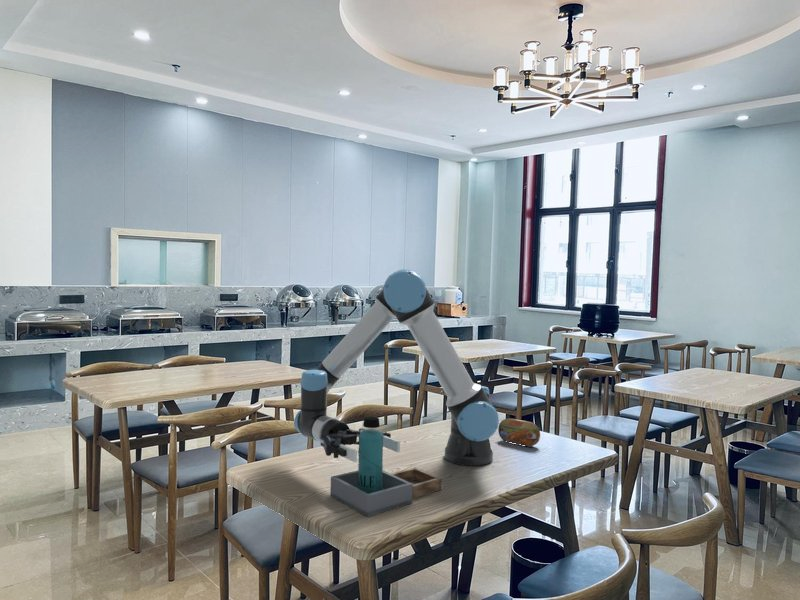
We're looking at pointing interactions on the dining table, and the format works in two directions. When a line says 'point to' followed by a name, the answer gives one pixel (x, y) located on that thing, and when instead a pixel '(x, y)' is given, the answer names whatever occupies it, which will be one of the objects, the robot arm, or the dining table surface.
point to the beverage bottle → (370, 457)
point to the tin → (519, 432)
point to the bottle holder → (427, 481)
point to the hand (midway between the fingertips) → (378, 451)
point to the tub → (388, 498)
